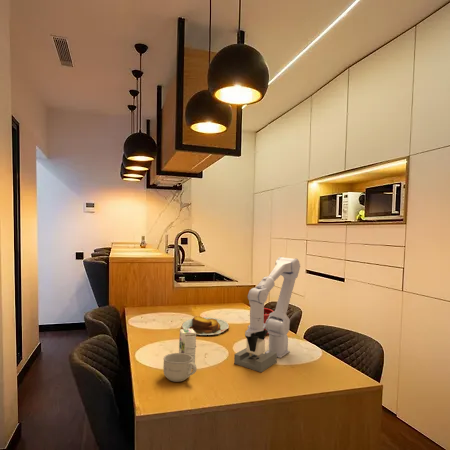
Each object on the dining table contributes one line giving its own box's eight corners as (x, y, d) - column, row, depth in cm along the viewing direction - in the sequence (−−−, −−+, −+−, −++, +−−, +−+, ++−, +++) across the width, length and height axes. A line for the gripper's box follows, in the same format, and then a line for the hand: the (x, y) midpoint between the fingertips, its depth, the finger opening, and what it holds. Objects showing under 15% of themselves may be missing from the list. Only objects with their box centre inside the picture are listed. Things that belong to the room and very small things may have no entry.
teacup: (157, 377, 126) (157, 356, 126) (180, 369, 133) (181, 349, 133) (179, 391, 116) (180, 368, 116) (203, 381, 123) (204, 360, 123)
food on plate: (235, 326, 192) (235, 314, 191) (218, 340, 168) (218, 327, 168) (194, 320, 201) (194, 309, 201) (172, 333, 177) (173, 320, 177)
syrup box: (178, 364, 138) (178, 329, 138) (191, 362, 140) (192, 327, 140) (181, 370, 132) (182, 333, 132) (195, 368, 135) (196, 332, 134)
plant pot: (244, 331, 181) (244, 309, 181) (260, 327, 190) (261, 306, 190) (262, 338, 172) (263, 315, 172) (278, 333, 180) (279, 311, 180)
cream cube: (252, 352, 145) (252, 337, 145) (264, 355, 142) (264, 340, 142) (246, 355, 141) (246, 340, 141) (258, 359, 138) (258, 343, 138)
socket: (250, 354, 150) (250, 345, 150) (276, 362, 143) (276, 352, 143) (234, 363, 140) (234, 354, 140) (261, 372, 132) (261, 362, 132)
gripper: (257, 311, 149) (256, 342, 149) (239, 318, 138) (238, 351, 138) (271, 314, 145) (270, 346, 145) (254, 322, 134) (253, 356, 134)
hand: (255, 349), depth 141 cm, fingers closed on cream cube, 5 cm apart
